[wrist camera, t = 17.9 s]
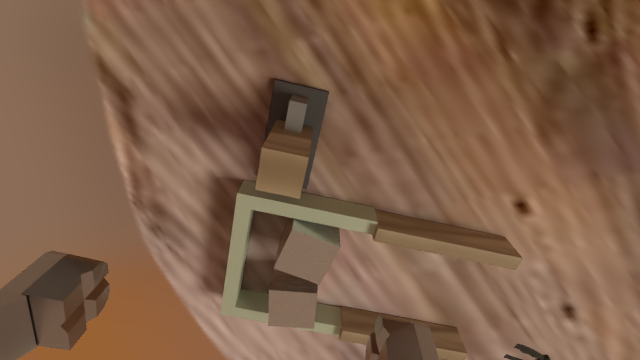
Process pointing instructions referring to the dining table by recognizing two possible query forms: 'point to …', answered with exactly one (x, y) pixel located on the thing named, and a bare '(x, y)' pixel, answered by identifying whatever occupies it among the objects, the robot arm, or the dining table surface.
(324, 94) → the pad
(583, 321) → the dining table surface
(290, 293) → the beige cube
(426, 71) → the dining table surface
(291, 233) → the tan cube
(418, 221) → the slot rails
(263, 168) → the wooden block with peg
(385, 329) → the robot arm
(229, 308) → the open picture frame
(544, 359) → the claw hammer
